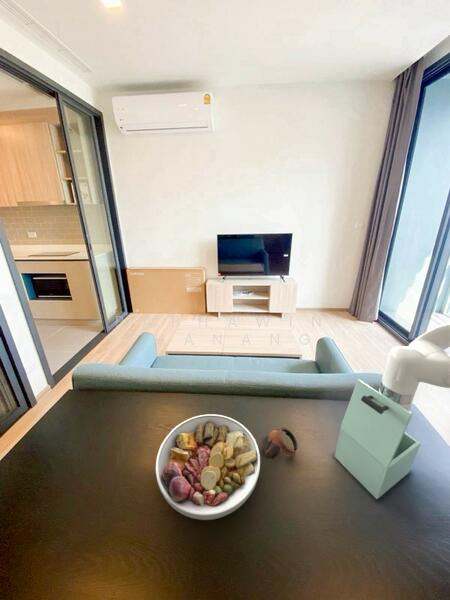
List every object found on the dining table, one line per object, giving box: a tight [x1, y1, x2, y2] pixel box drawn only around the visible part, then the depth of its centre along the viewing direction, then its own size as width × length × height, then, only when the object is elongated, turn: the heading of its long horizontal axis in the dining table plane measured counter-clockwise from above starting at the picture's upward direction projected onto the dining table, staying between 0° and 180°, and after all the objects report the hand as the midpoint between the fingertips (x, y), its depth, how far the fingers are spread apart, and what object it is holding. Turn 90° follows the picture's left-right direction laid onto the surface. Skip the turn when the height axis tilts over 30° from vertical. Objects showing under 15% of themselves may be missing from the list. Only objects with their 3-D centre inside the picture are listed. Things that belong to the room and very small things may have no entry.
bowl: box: [155, 413, 261, 521], centre depth 72 cm, size 30×30×8 cm
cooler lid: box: [340, 379, 414, 468], centre depth 63 cm, size 16×14×5 cm
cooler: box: [334, 428, 422, 500], centre depth 72 cm, size 16×14×12 cm
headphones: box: [262, 427, 299, 462], centre depth 76 cm, size 12×10×8 cm
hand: (381, 439), depth 71 cm, fingers closed on cosmetic box, 7 cm apart
